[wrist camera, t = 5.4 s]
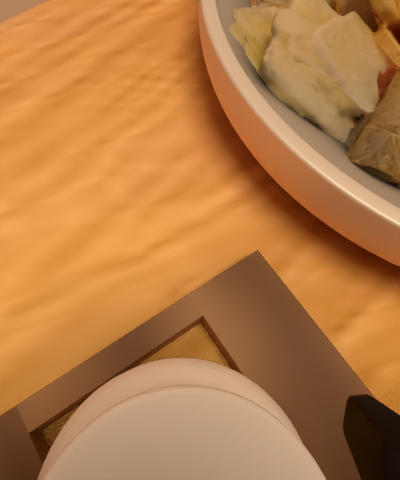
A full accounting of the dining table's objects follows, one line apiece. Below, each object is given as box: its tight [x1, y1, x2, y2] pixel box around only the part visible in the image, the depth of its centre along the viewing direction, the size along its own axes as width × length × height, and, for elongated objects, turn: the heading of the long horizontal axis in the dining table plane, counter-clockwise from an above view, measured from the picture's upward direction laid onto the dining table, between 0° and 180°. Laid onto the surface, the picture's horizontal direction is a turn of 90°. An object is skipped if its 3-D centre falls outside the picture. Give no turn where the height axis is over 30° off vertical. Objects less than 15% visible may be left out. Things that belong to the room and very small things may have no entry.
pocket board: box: [0, 250, 375, 480], centre depth 12 cm, size 14×9×1 cm, turn 124°
